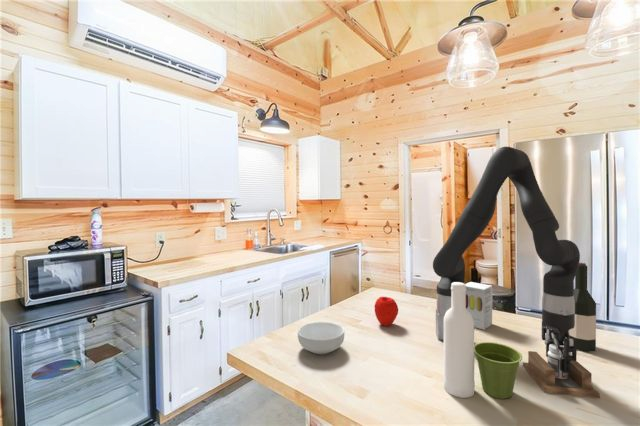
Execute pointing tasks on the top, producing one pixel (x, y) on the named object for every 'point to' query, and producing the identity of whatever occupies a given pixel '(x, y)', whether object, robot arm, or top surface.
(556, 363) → the pill bottle
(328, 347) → the cereal bowl
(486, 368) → the plant pot
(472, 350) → the bottle
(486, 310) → the supplement box
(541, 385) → the cradle
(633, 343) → the top surface
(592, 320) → the wine bottle
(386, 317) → the apple
